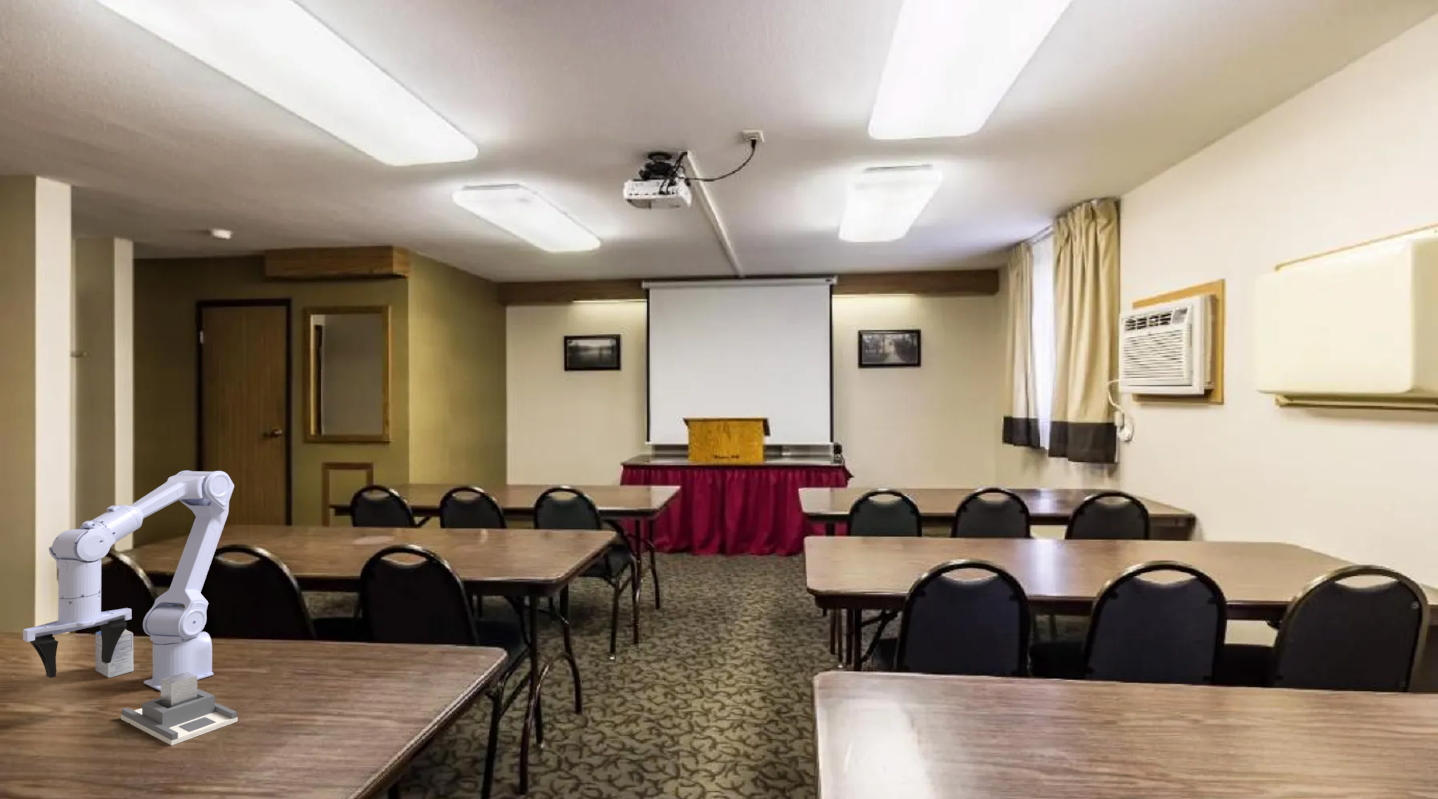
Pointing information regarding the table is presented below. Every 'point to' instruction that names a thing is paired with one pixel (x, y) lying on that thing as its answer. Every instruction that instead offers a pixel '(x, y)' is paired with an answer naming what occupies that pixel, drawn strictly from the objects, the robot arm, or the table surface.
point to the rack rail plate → (180, 718)
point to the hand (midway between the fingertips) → (79, 669)
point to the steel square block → (178, 689)
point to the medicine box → (115, 656)
